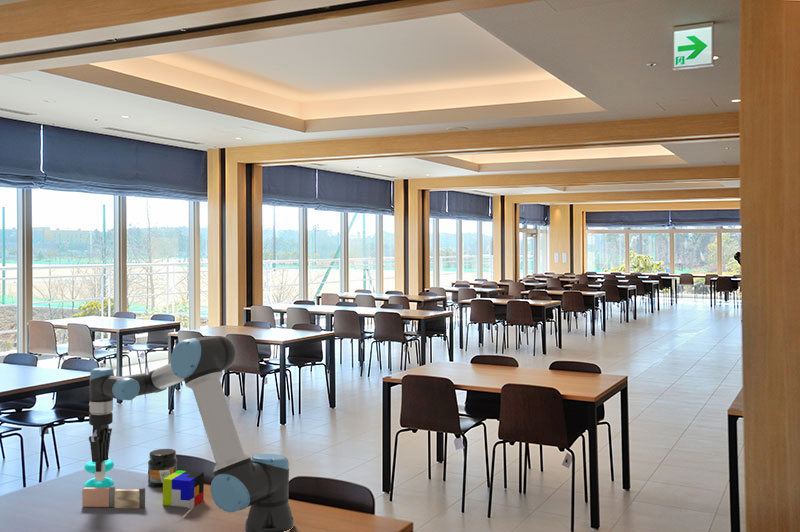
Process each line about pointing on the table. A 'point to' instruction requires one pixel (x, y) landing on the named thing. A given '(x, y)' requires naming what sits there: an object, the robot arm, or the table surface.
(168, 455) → the supplement container
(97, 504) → the salmon gate panel
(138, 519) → the table surface
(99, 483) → the donuts
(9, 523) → the table surface
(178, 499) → the puzzle toy
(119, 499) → the rail
